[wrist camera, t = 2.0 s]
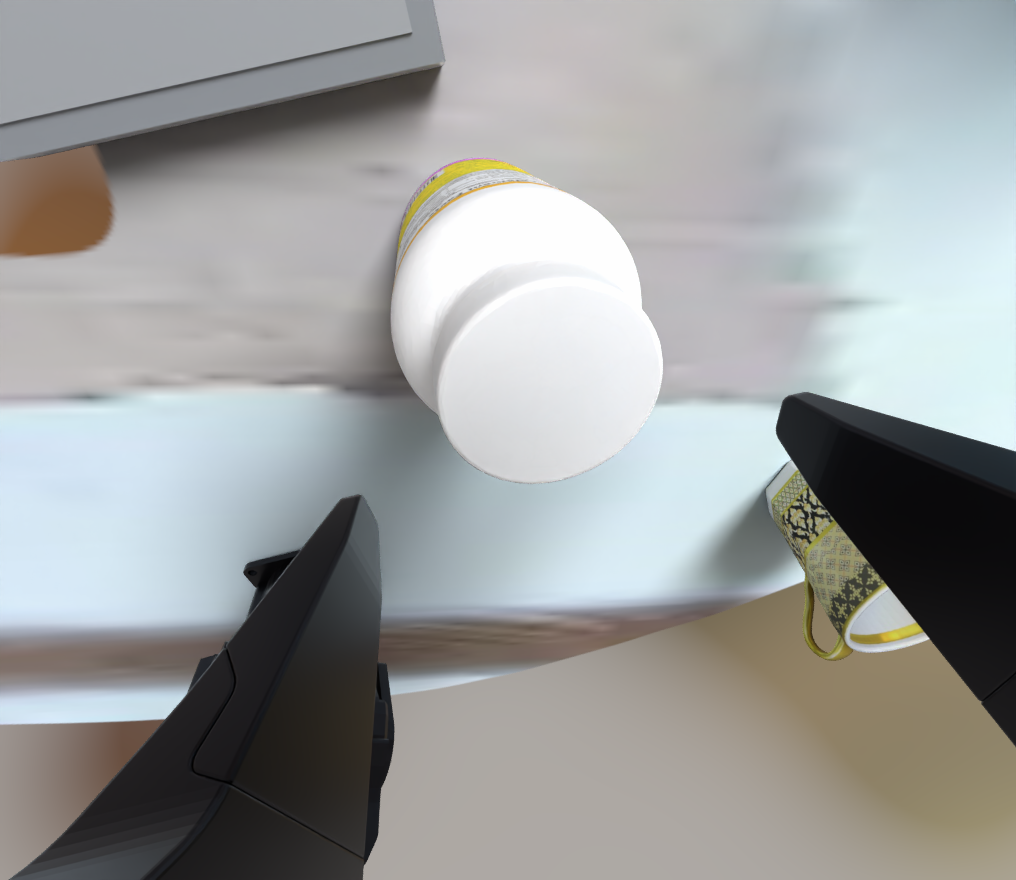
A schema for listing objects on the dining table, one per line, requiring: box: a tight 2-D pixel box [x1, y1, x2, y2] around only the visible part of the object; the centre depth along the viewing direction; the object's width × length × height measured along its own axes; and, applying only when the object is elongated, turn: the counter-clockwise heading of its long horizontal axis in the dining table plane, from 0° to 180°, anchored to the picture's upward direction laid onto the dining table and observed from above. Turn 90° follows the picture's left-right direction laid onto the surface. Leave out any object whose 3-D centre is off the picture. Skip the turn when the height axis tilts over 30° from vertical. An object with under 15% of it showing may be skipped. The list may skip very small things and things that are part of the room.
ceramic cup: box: [766, 460, 929, 661], centre depth 29 cm, size 13×10×10 cm
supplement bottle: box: [391, 158, 663, 484], centre depth 14 cm, size 7×7×13 cm
